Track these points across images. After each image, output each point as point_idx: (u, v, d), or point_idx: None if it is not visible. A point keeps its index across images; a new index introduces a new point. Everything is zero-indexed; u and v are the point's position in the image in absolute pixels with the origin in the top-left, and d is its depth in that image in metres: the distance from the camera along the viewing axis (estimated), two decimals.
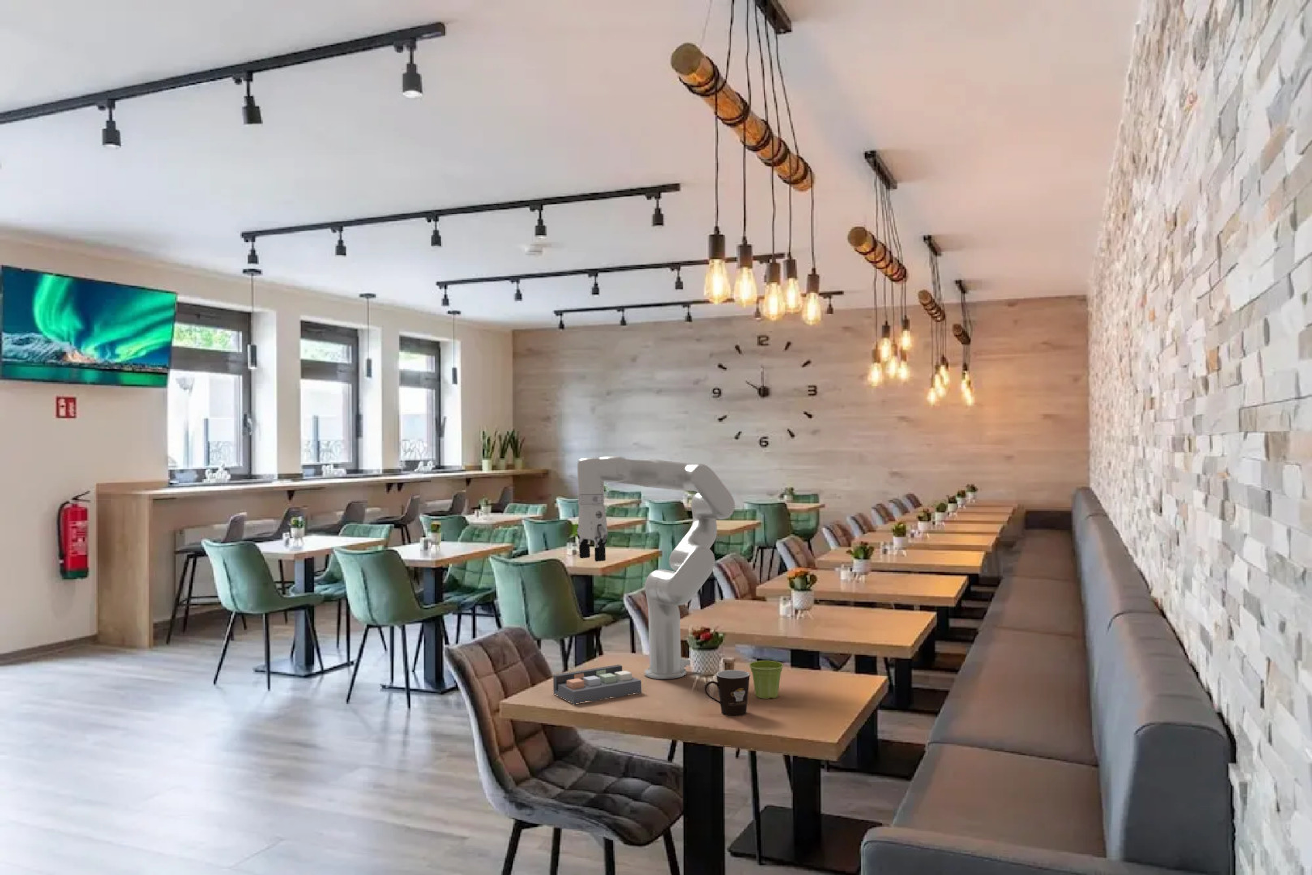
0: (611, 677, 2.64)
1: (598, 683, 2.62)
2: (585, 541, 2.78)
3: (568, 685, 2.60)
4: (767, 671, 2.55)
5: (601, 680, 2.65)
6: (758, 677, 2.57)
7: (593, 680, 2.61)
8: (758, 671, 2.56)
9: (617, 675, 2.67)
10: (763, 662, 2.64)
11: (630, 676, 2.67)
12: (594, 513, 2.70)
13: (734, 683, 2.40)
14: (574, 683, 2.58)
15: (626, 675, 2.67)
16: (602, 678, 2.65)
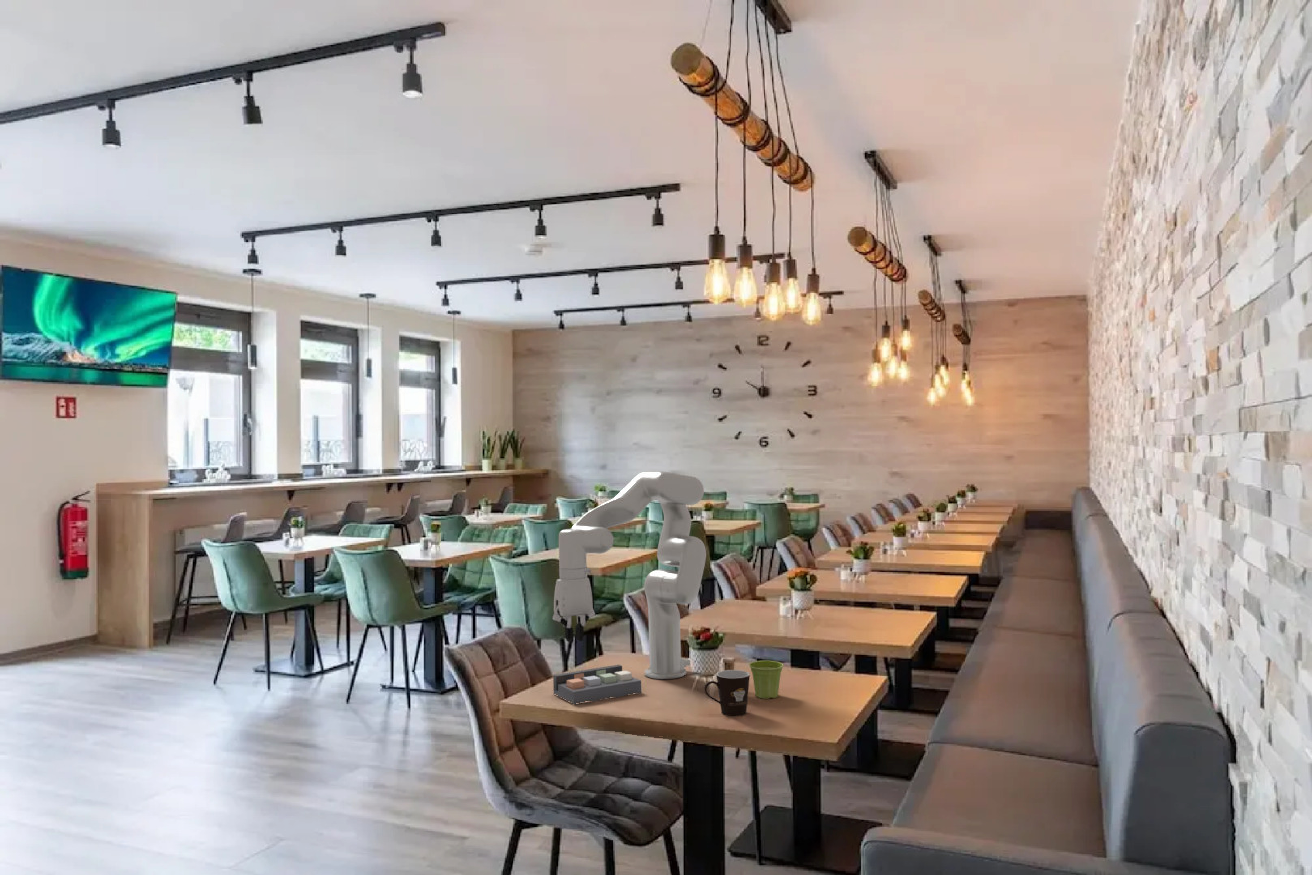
0: (611, 677, 2.64)
1: (598, 683, 2.62)
2: None
3: (568, 685, 2.60)
4: (767, 671, 2.55)
5: (601, 680, 2.65)
6: (758, 677, 2.57)
7: (593, 680, 2.61)
8: (758, 671, 2.56)
9: (617, 675, 2.67)
10: (763, 662, 2.64)
11: (630, 676, 2.67)
12: None
13: (734, 683, 2.40)
14: (574, 683, 2.58)
15: (626, 675, 2.67)
16: (602, 678, 2.65)
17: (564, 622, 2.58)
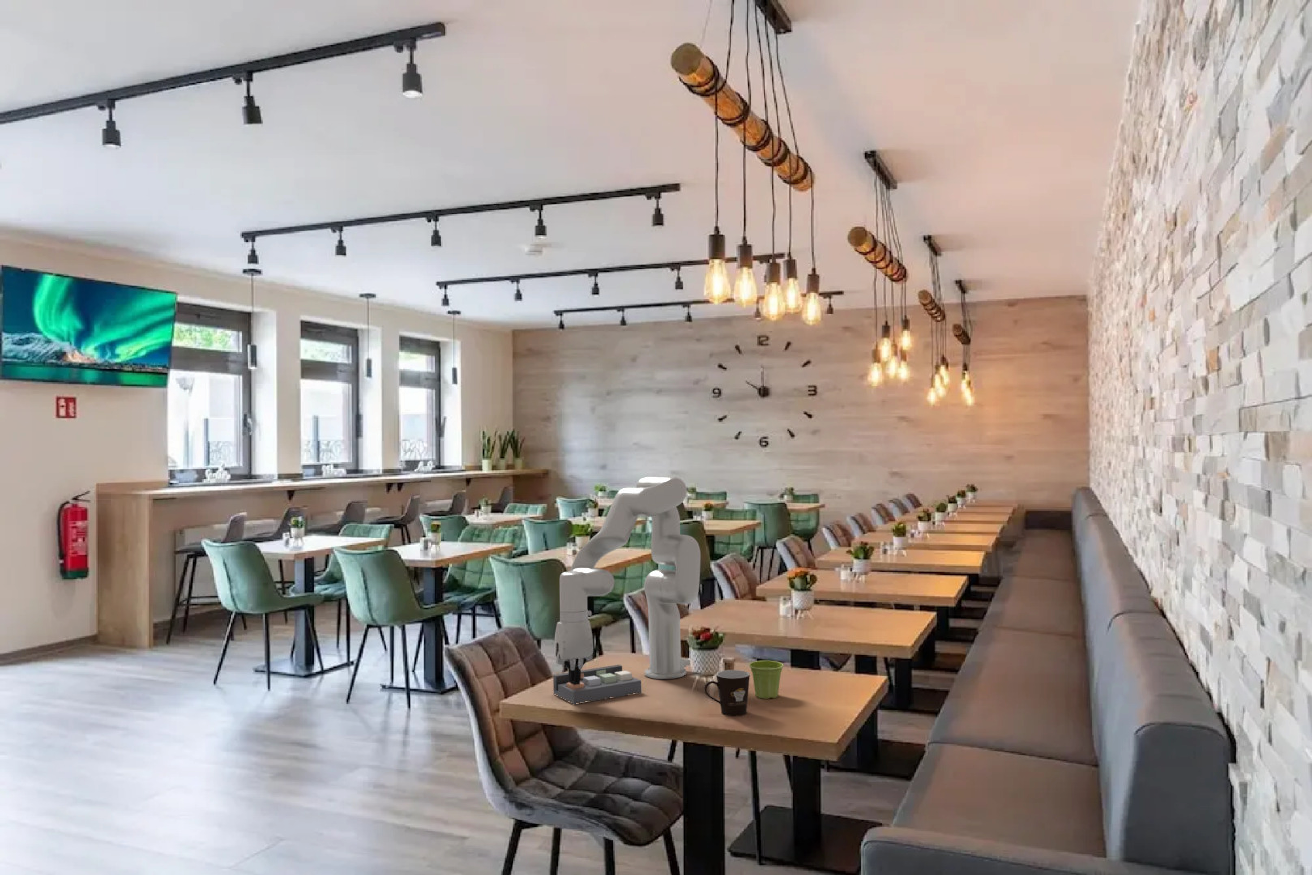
0: (611, 677, 2.64)
1: (598, 683, 2.62)
2: None
3: None
4: (767, 671, 2.55)
5: (601, 680, 2.65)
6: (758, 676, 2.57)
7: (593, 680, 2.61)
8: (758, 671, 2.56)
9: (617, 675, 2.67)
10: (763, 662, 2.64)
11: (630, 676, 2.67)
12: (590, 628, 2.62)
13: (734, 683, 2.40)
14: (574, 686, 2.58)
15: (626, 675, 2.67)
16: (602, 678, 2.65)
17: (567, 665, 2.59)
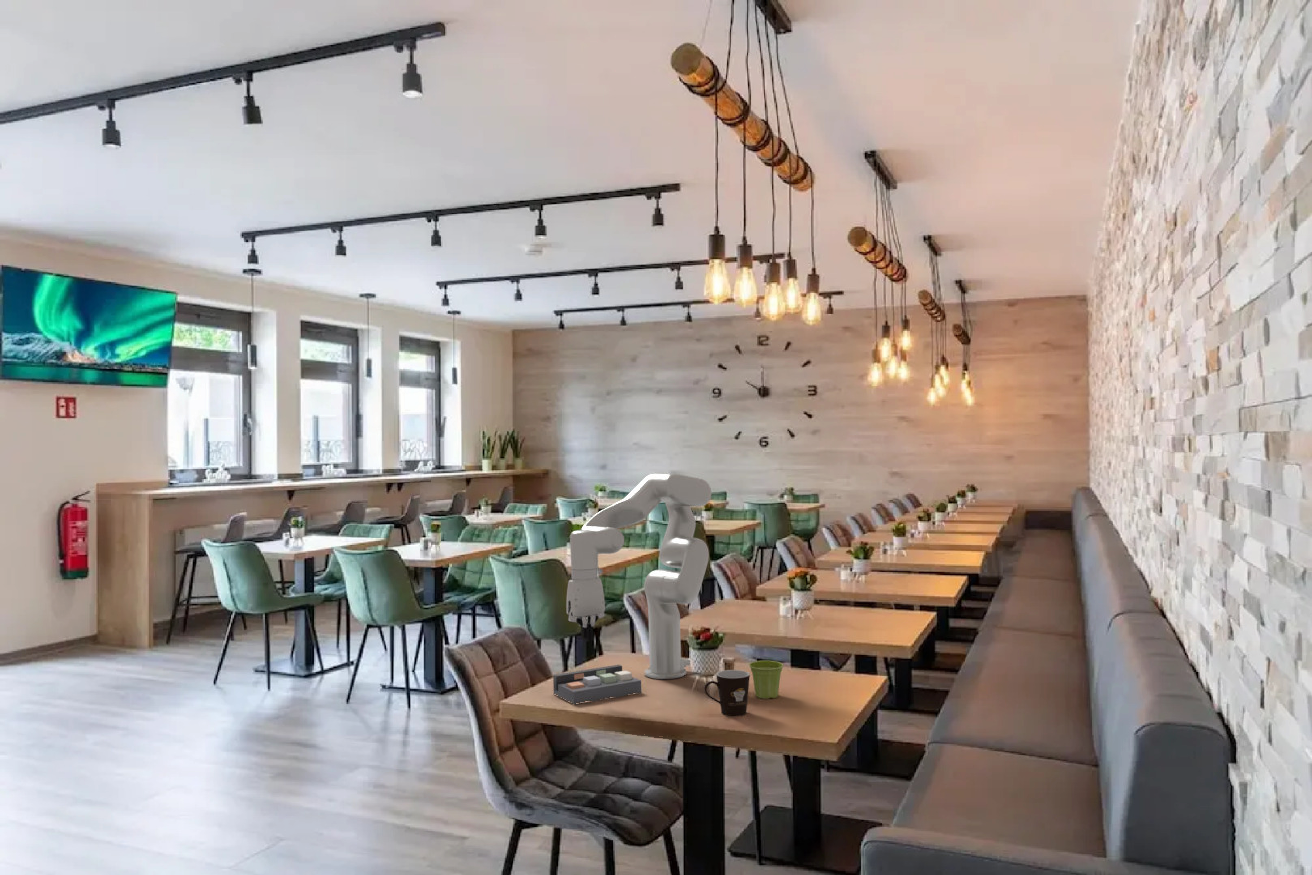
0: (611, 677, 2.64)
1: (598, 683, 2.62)
2: None
3: None
4: (767, 671, 2.55)
5: (601, 680, 2.65)
6: (758, 677, 2.57)
7: (593, 680, 2.61)
8: (758, 671, 2.56)
9: (617, 675, 2.67)
10: (763, 662, 2.64)
11: (630, 676, 2.67)
12: None
13: (734, 683, 2.40)
14: (574, 686, 2.58)
15: (626, 675, 2.67)
16: (602, 678, 2.65)
17: (579, 623, 2.61)
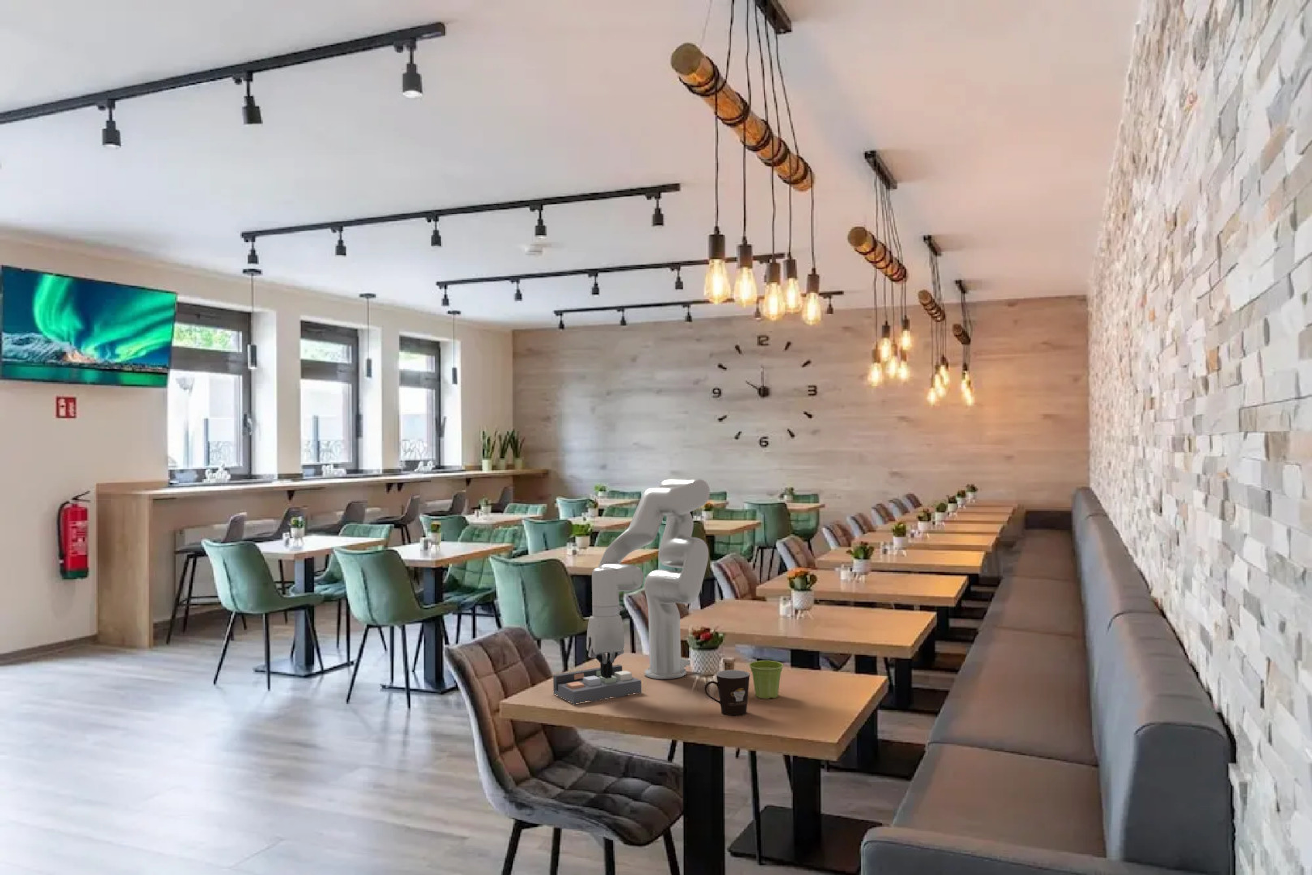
0: (611, 679, 2.64)
1: (598, 683, 2.62)
2: None
3: None
4: (767, 671, 2.55)
5: (601, 682, 2.65)
6: (758, 677, 2.57)
7: (593, 680, 2.61)
8: (758, 671, 2.56)
9: (617, 675, 2.67)
10: (763, 662, 2.64)
11: (630, 676, 2.67)
12: None
13: (734, 683, 2.40)
14: (574, 686, 2.58)
15: (626, 675, 2.67)
16: (602, 680, 2.65)
17: (599, 659, 2.64)
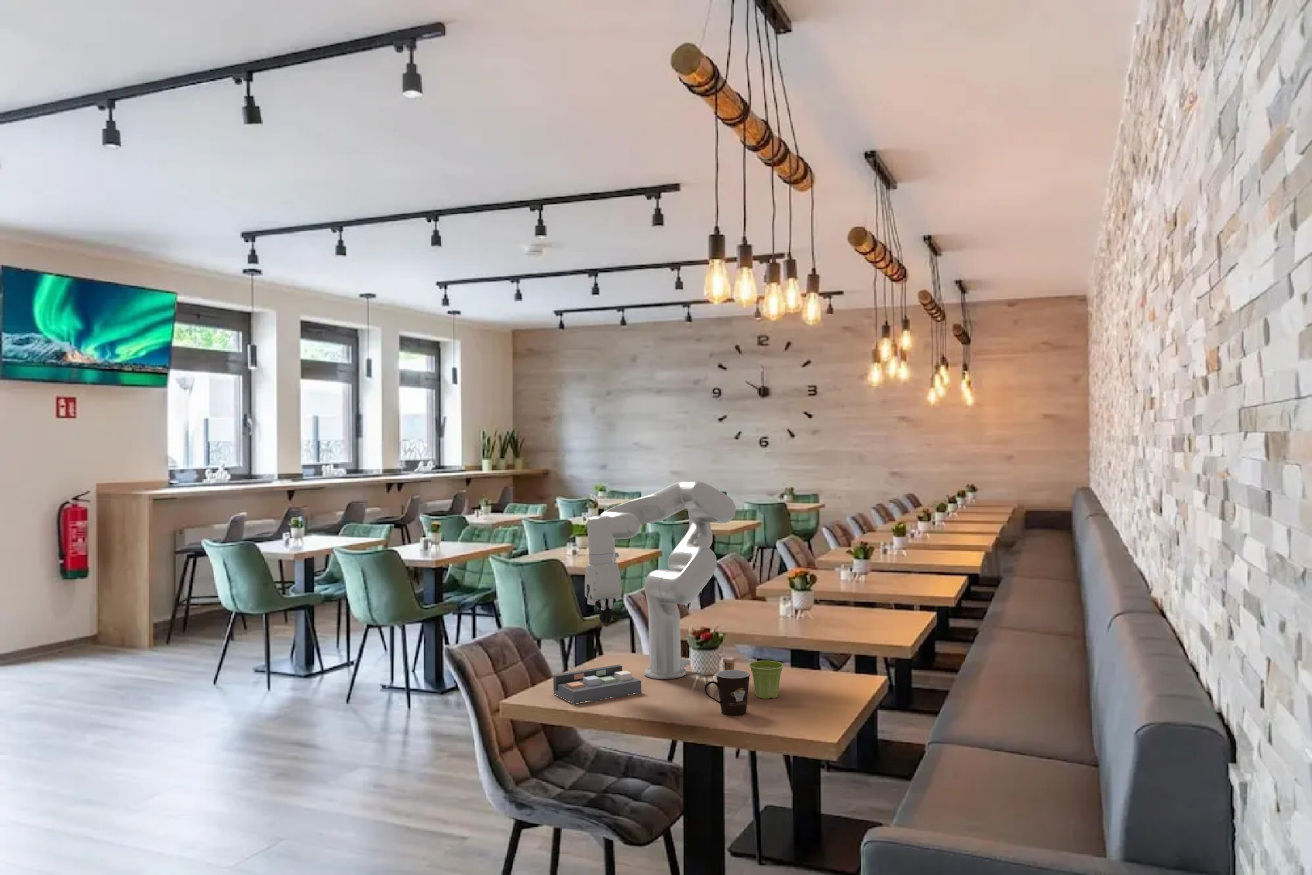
0: (611, 680, 2.64)
1: (598, 683, 2.62)
2: None
3: None
4: (767, 671, 2.55)
5: None
6: (758, 677, 2.57)
7: (593, 680, 2.61)
8: (758, 671, 2.56)
9: (617, 675, 2.67)
10: (763, 662, 2.64)
11: (630, 676, 2.67)
12: None
13: (734, 683, 2.40)
14: (574, 686, 2.58)
15: (626, 675, 2.67)
16: (602, 681, 2.64)
17: (598, 605, 2.69)
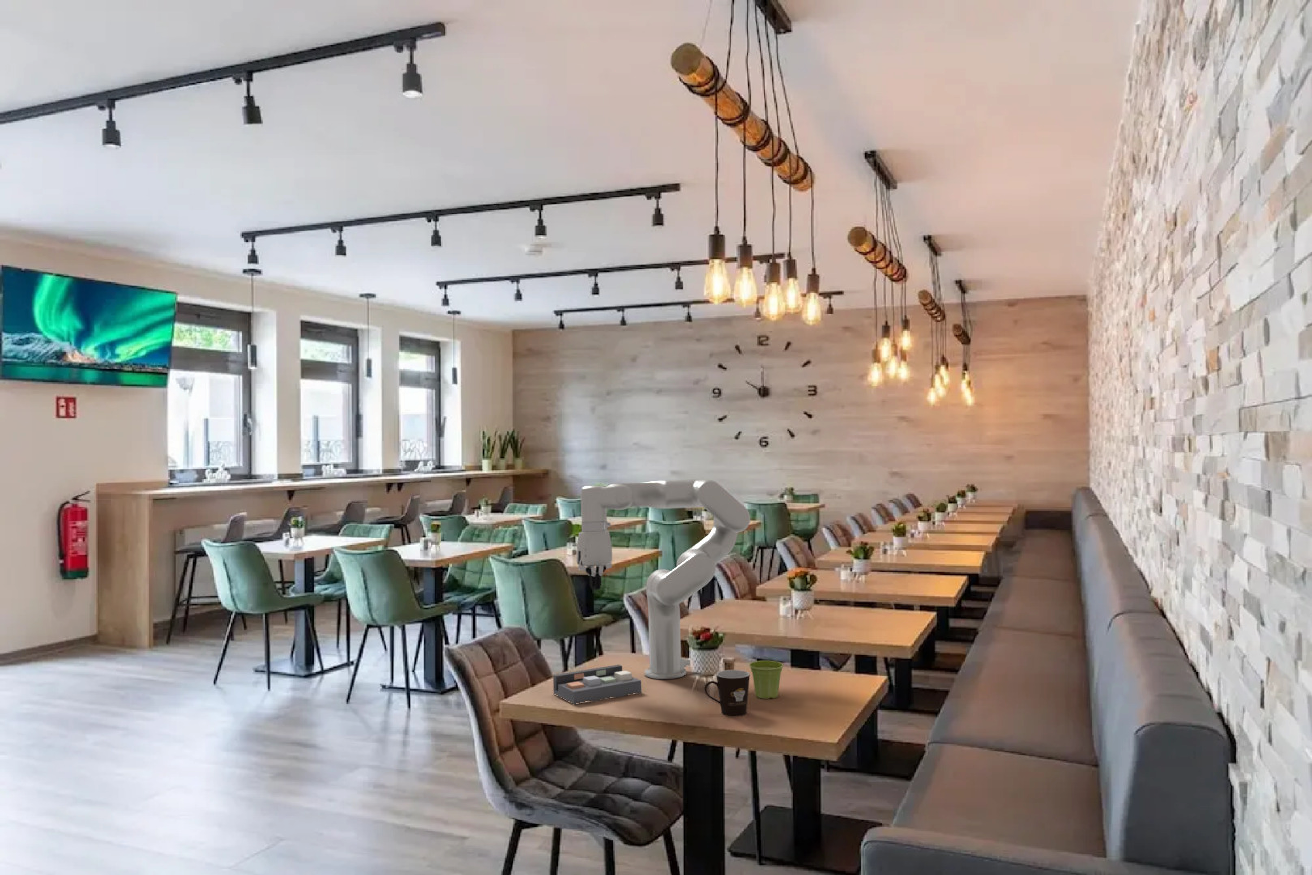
0: (611, 680, 2.64)
1: (598, 683, 2.62)
2: None
3: None
4: (767, 671, 2.55)
5: None
6: (758, 677, 2.57)
7: (593, 680, 2.61)
8: (758, 671, 2.56)
9: (617, 675, 2.67)
10: (763, 662, 2.64)
11: (630, 676, 2.67)
12: None
13: (734, 683, 2.40)
14: (574, 686, 2.58)
15: (626, 675, 2.67)
16: (602, 681, 2.64)
17: (588, 572, 2.79)
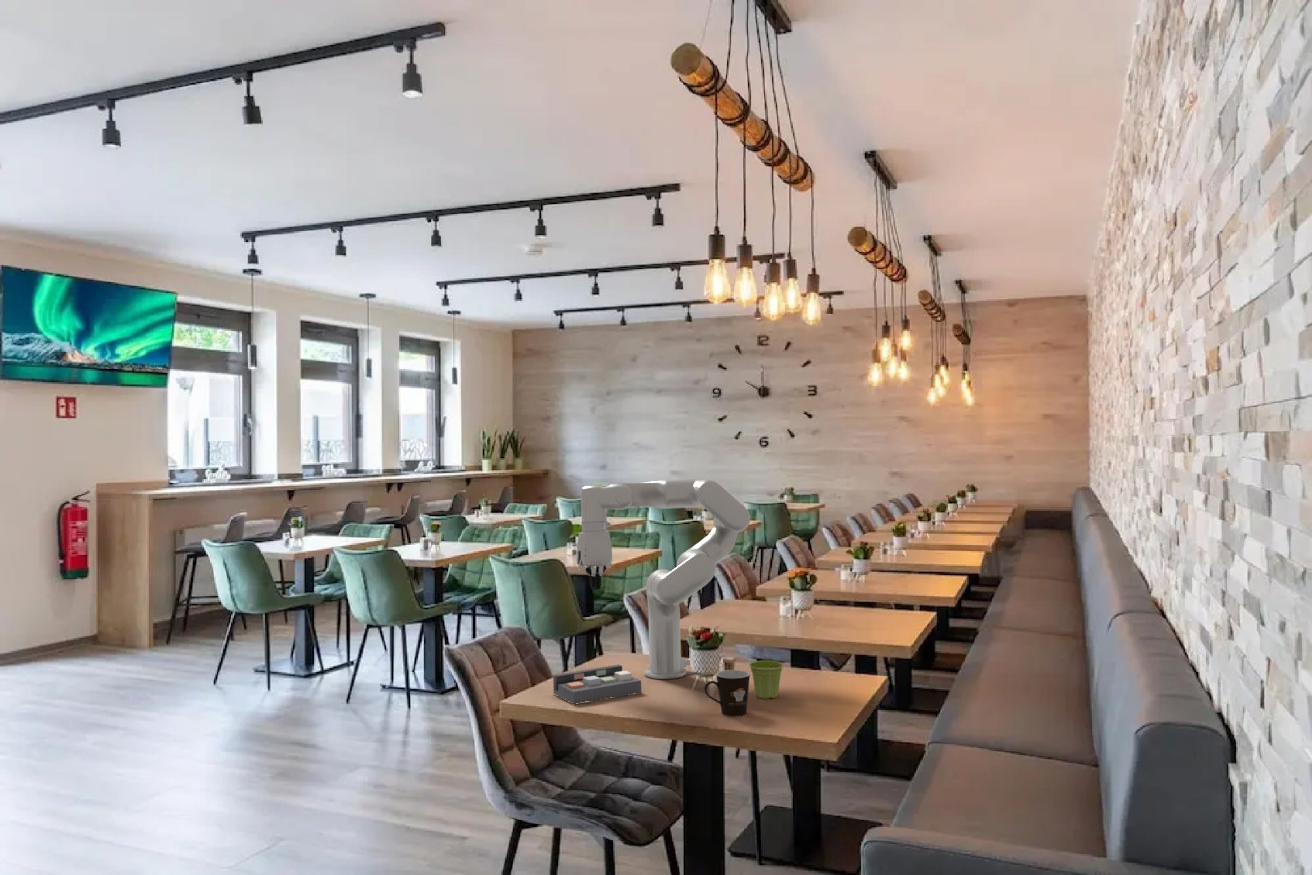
0: (611, 680, 2.64)
1: (598, 683, 2.62)
2: None
3: None
4: (767, 671, 2.55)
5: None
6: (758, 677, 2.57)
7: (593, 680, 2.61)
8: (758, 671, 2.56)
9: (617, 675, 2.67)
10: (763, 662, 2.64)
11: (630, 676, 2.67)
12: None
13: (734, 683, 2.40)
14: (574, 686, 2.58)
15: (626, 675, 2.67)
16: (602, 681, 2.64)
17: (588, 572, 2.79)
